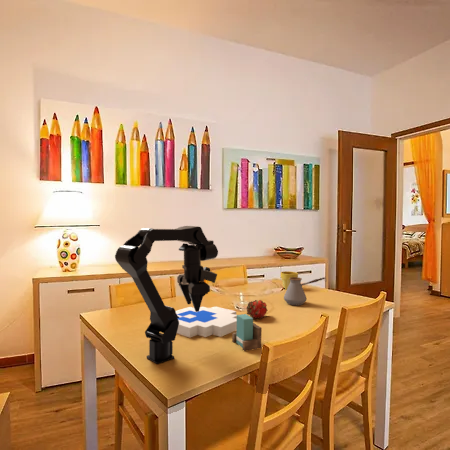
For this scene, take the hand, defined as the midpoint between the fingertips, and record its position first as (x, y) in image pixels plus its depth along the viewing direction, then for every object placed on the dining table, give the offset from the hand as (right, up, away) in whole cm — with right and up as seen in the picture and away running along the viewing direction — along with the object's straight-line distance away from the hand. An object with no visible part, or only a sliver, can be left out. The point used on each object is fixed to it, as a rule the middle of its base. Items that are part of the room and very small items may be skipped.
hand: (193, 307), depth 121 cm
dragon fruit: (+25, -12, +33) cm, 43 cm away
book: (+18, -13, +1) cm, 22 cm away
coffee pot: (+51, -12, +54) cm, 75 cm away
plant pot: (+49, -10, +90) cm, 104 cm away
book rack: (+18, -13, +1) cm, 22 cm away
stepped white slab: (+2, -13, +22) cm, 26 cm away
